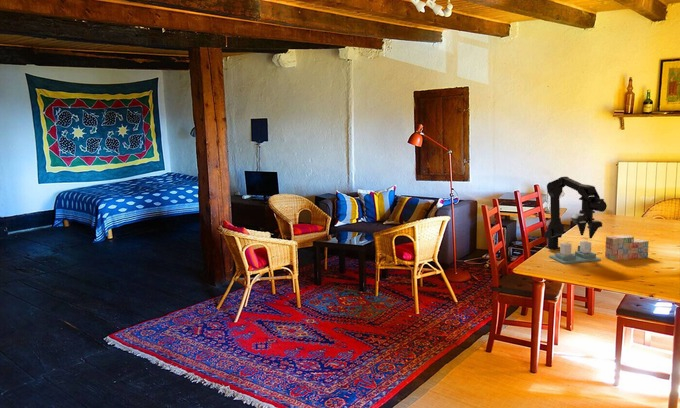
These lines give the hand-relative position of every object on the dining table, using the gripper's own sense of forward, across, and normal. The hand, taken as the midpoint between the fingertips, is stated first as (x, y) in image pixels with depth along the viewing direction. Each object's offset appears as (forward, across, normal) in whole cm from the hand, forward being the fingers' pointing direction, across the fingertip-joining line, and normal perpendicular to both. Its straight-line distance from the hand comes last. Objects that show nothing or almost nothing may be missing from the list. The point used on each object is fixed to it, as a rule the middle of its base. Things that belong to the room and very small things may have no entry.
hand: (586, 236), depth 294 cm
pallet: (+12, 0, -6) cm, 14 cm away
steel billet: (+11, 0, 0) cm, 11 cm away
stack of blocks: (+12, +6, +21) cm, 25 cm away
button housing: (+12, -12, +8) cm, 19 cm away
